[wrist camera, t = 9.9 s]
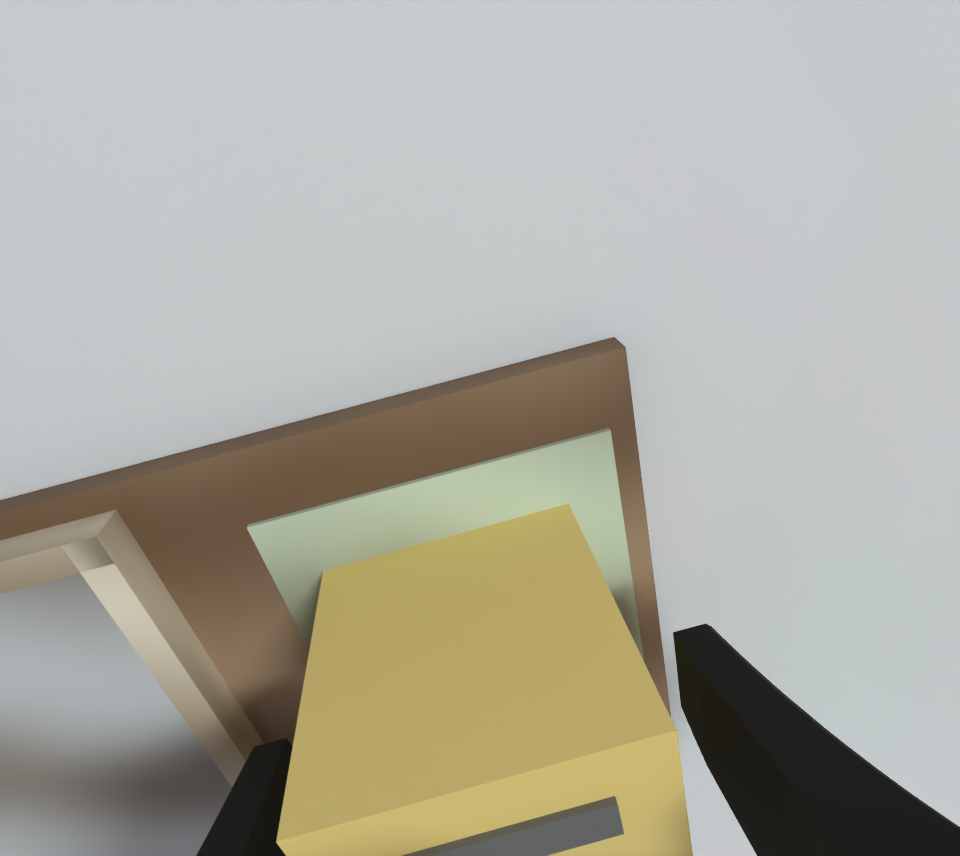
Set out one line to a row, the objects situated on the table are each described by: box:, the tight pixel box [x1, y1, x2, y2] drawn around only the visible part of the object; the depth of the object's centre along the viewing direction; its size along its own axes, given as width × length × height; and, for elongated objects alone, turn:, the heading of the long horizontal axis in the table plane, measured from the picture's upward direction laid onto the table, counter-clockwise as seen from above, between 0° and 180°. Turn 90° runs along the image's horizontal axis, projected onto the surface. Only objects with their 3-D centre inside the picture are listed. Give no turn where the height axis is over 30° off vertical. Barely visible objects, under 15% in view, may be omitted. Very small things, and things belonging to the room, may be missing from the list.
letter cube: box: [276, 503, 693, 856], centre depth 10 cm, size 5×5×5 cm
